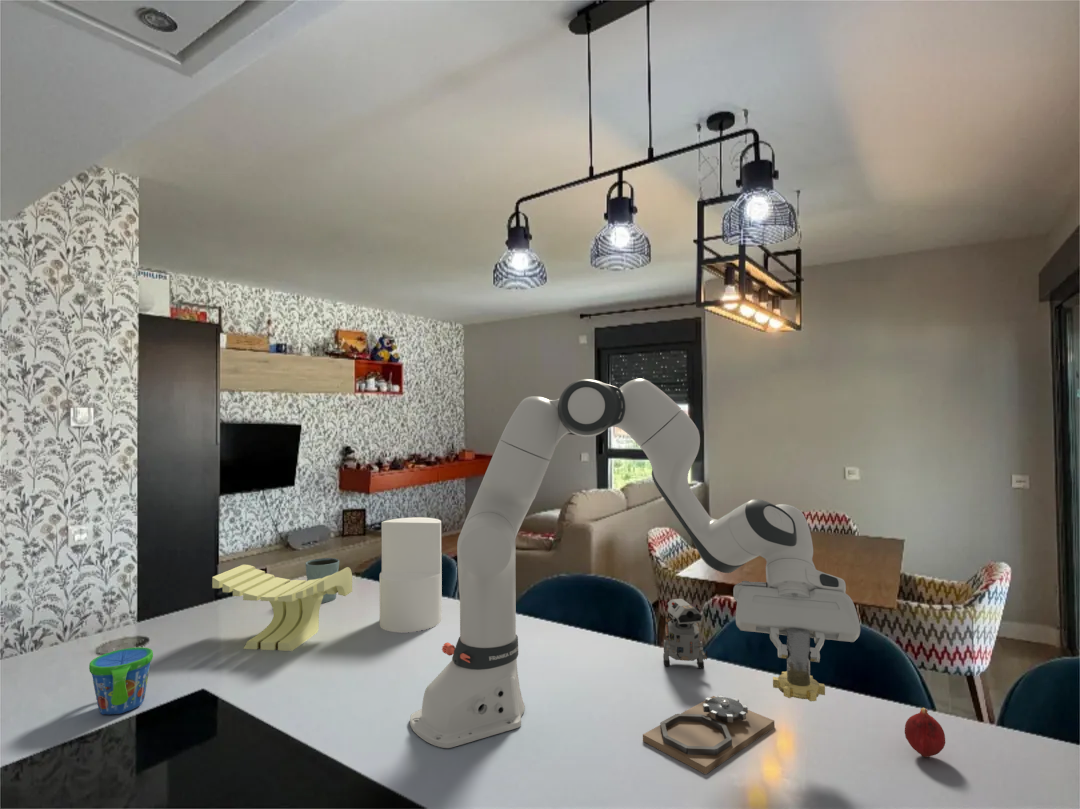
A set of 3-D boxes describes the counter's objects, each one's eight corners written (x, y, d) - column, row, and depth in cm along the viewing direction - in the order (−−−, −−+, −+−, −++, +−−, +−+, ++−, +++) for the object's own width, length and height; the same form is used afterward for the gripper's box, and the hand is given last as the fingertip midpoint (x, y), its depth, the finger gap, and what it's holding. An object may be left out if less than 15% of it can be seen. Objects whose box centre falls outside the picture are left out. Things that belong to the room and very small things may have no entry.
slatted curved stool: (352, 629, 163) (352, 564, 163) (324, 652, 147) (324, 580, 148) (250, 625, 167) (250, 561, 167) (212, 647, 151) (212, 577, 151)
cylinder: (393, 610, 179) (393, 516, 179) (449, 612, 176) (448, 517, 177) (369, 631, 161) (368, 527, 162) (430, 633, 159) (430, 528, 160)
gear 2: (809, 706, 96) (809, 643, 96) (765, 689, 102) (765, 630, 102) (831, 691, 101) (831, 632, 101) (788, 676, 107) (788, 620, 107)
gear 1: (732, 734, 106) (732, 716, 106) (694, 717, 112) (694, 700, 112) (756, 719, 111) (755, 701, 111) (718, 703, 117) (718, 687, 117)
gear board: (705, 774, 96) (705, 760, 96) (642, 741, 106) (642, 728, 106) (774, 727, 110) (774, 715, 110) (713, 701, 120) (713, 690, 120)
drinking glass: (299, 603, 186) (299, 564, 187) (316, 593, 196) (316, 557, 197) (329, 604, 185) (329, 565, 185) (345, 594, 195) (345, 557, 195)
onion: (952, 768, 97) (951, 719, 97) (913, 764, 98) (912, 715, 98) (936, 749, 103) (935, 702, 103) (899, 745, 104) (898, 699, 104)
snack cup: (98, 696, 125) (98, 647, 125) (157, 686, 129) (158, 639, 130) (79, 732, 111) (79, 676, 111) (146, 718, 115) (146, 666, 116)
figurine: (665, 678, 131) (665, 609, 132) (663, 656, 143) (662, 594, 143) (708, 680, 130) (707, 611, 130) (702, 658, 141) (701, 595, 142)
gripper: (733, 571, 111) (734, 643, 102) (854, 580, 106) (868, 657, 96) (732, 588, 116) (734, 659, 106) (849, 598, 110) (861, 674, 100)
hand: (798, 658), depth 101 cm, fingers closed on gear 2, 4 cm apart
